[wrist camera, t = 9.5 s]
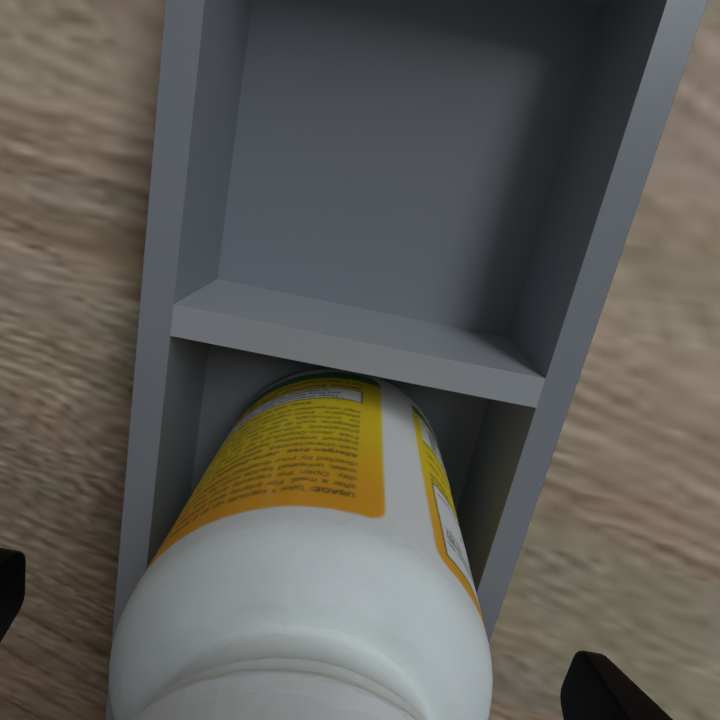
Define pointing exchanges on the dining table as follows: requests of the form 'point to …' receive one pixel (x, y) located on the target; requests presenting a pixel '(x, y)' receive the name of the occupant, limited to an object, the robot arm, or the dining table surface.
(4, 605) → the robot arm
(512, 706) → the dining table surface
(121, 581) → the slot holder
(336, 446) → the supplement bottle
